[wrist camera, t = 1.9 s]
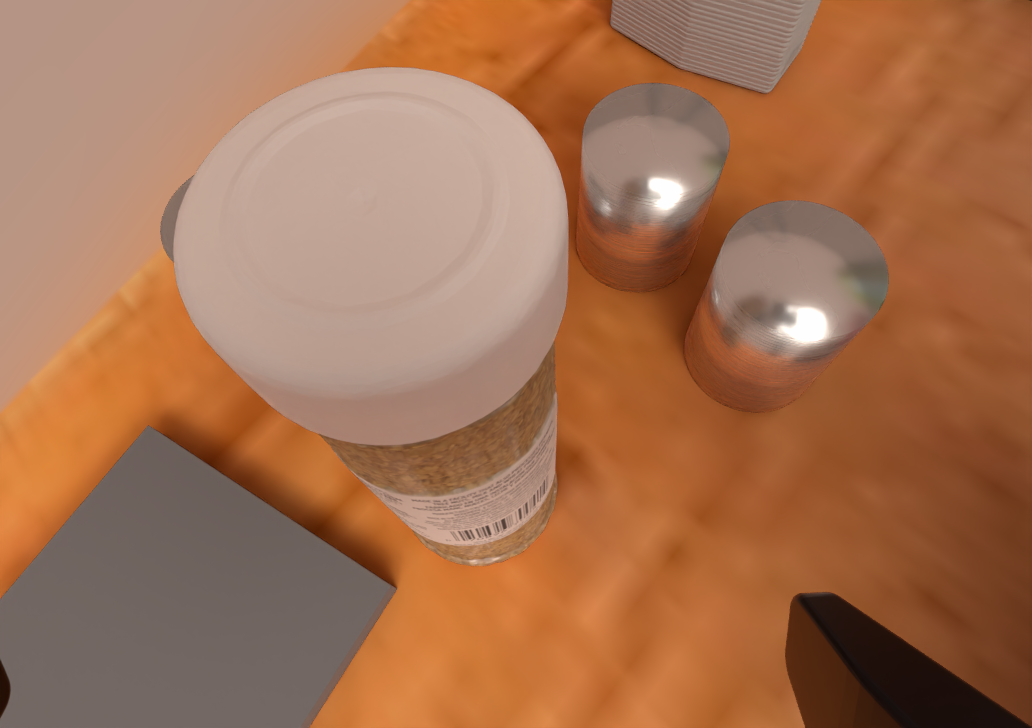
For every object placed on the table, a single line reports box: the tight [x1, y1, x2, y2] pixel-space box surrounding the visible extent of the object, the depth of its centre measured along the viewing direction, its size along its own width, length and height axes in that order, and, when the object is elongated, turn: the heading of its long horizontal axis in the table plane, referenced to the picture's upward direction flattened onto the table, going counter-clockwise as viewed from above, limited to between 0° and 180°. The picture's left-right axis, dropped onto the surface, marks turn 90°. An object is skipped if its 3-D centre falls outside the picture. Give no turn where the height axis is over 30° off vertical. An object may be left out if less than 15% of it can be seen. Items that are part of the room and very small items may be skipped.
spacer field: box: [160, 83, 889, 413], centre depth 20 cm, size 12×18×5 cm
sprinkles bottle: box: [173, 67, 568, 566], centre depth 13 cm, size 5×5×14 cm
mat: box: [0, 426, 397, 728], centre depth 18 cm, size 9×9×1 cm
